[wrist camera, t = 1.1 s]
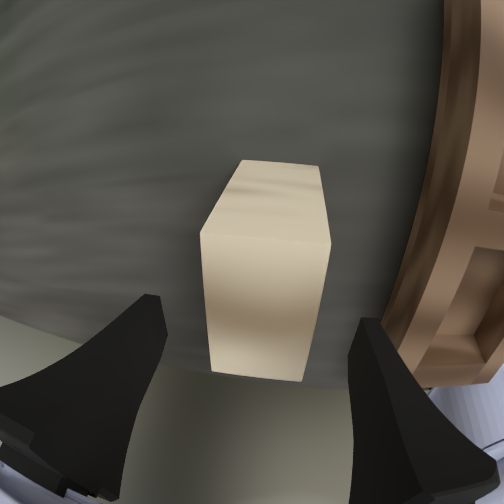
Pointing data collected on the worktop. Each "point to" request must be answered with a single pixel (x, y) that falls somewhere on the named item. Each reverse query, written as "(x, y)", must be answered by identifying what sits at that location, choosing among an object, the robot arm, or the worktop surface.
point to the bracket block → (265, 269)
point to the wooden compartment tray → (458, 215)
